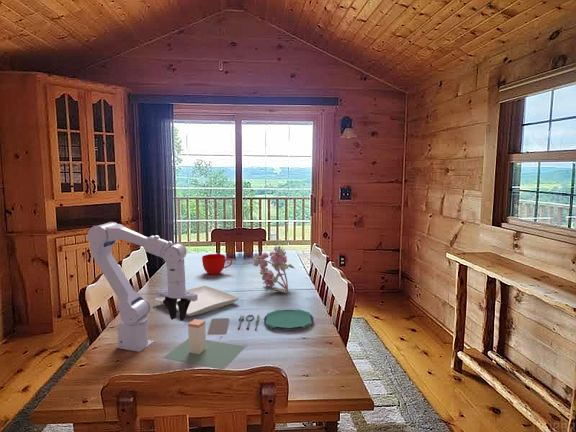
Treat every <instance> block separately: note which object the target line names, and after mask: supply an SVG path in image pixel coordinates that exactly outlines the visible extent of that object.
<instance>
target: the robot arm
mask: <svg viewBox="0 0 576 432" xmlns="http://www.w3.org/2000/svg"><path fill="white" fill-rule="evenodd" d="M86 240H87V241H88V243H89V246H90V251H91V256H92V258H93V259H94V261H95V263H96V264H97V266H98V268H99V270H100V271H101V273H102V274H103V276H104V278H105V279H106V281H107V282H108V284H109V286H110V287H111V289H112V290H113V291H112V292H114V294H115V296H116V297H117V299H118V304H117V310H118V311H119V315H120V319H121V321H120V322H119V323H118V327H117V341H118V342H117V343H118V345H117V346H116V348H117V349H121V350H127V351H132V352H141V351H143V350H144V349H146V348H147V347H149V346H150V345H151V344H153V343H154V342H155V341H154V340H152V339H149V330H148V329H149V328H148V325H149V324H148V314H149V313H150V311H151V304H150V302H149V301H148V300H147V299H146V298H144V296H143V295H142V294H141V293H140V292H137V291H135V290H134V288H133V286H132V284H130V281H129V280H128V278H127V277H126V275H125V273H124V271H123V270H122V268H121V267H120V265H119V263H118V261H117V260H116V258H115V256H114V255H113V253H112V249H113V247H114V244H115V243H116V242H117V241H119V240H121V241H124V242H128V243H131V244H134V245H137V246H140V247H143V249H144V251H145V252H146V253H148V254H151V255H154V256H156V257H159V258H162V259H163V261H164V262H165V264H166V277H167V278H166V281H167V289H166V290H165V289H160V290H158V291H157V292H156V293H157V294H156V295H157V297H156V298H158V297H165V300H163V303H164V305H163V306H165V308H166V309H167V311H168V314H169V317H170V320H173V321H174V319H176V318H177V310H176V305H178V308H179V311H178V314H179V321H180V322H183V321H184V320H186V317H187V315H186V313H187V309H188V306H189V304H190V302H191V300H192V301H196V300H198V298H197V294H193V293H190V292H187V291H186V290H187V289H186V269H185V258H186V256H187V254H188V253H187V248H186V246H185V245H184V244H182V243H181V242H175V243H173V241H172V240H169V241H168V240H165V239H162V238H160V235H157V234H156V235H150V236H145V235H144V234H141V233H139V232H137V231H135V230H133V229H130V228H127V227H125V226H124V225H123V224H121V223H117V222H115V221H108V222H106V223H103V224H99V225H93V226H92V227H91V228H90V229H89V230H88V233H87V236H86ZM177 299H181V300H180V301H178V302H177Z"/></svg>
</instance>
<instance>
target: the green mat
mask: <svg viewBox="0 0 576 432" xmlns="http://www.w3.org/2000/svg"><path fill="white" fill-rule="evenodd" d="M245 348H246V346H244V345H241V344H239V345H238V344H233V343H226V342H220V341H215V340H210V339H206V349H205V350H204V351H203V352H202V353H200V354H196V353H190V352H189V338H187V339H186V340H184V341H183V342H182V343H180V344H179V345H178V346H176V347H175V348H174V349H173V350H171V351H170V352H168V353H167V354H165V355H164V356H163V357H162V359H167V360H172V361H176V362H182V363H188V364H192V365H198V366H203V367H208V368H213V369H219V370H223V369H224V370H225V369H226V368H227V367H228V366H229V364H231V363H232V361H234V359H235V358H236V357H238V355H239V354H240V353H241V352H242V351H243V350H245Z"/></svg>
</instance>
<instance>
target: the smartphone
mask: <svg viewBox="0 0 576 432" xmlns="http://www.w3.org/2000/svg"><path fill="white" fill-rule="evenodd" d="M230 321H231V320H230V318H229V317H222V318H221V317H219V318H216V317H215V318H211V319H210V323H209V326H208V330H207V331H206V332H207V333H206V335H208V336H219V335H223V336H225V335H227V334H228V329H229V325H230Z"/></svg>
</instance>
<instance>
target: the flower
mask: <svg viewBox="0 0 576 432" xmlns="http://www.w3.org/2000/svg"><path fill="white" fill-rule="evenodd" d="M273 250H274V251H270V252H269V254H268V253H267V252H262V254H261V255H259V253H257V252H256V253H254V254H253V256H252V258H249V260H250V261H252V266H254V267H258V266H259V267H260V270H259V274H260V275H261V279H262V281H263V282H262V284H263V285H266V287H268V286H269V287H274V286H275V284H276V283H278V285H279V286H281V287H282V288H283V289H282V288H274V289H271V290H270V291H269V293H271V292H279V291H280V293H288V294H290V295H291V291H290V290H289V287H288V285H289V284H288V277H287V273H286V270H287V271H289V270H290V269H289V268H291V269H294V270H296V268H295V266H294V265H292V264H291V263H287V261H288V259H287V258H288V256H287V255H286V254H287V251H285V250H286V248H284V246H283V245H282V246H281V245H278V246H275V247H274V248H273ZM269 257H270V259H269V260H265V259H268V258H269ZM269 264H270V265H271V266H272V268H274V271H276V272H277V273H276V275H275V274H274V272H273V271H272V270H271V269H269V268H268V267H267V266H268V265H269ZM280 270H281V271H282V272H283V273H281V271H280ZM283 275H284V278H283ZM279 277H280V279H281V280H282V283H283V284H282V283H281V282H280V281H278V280H279ZM284 279H285V280H284Z"/></svg>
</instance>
